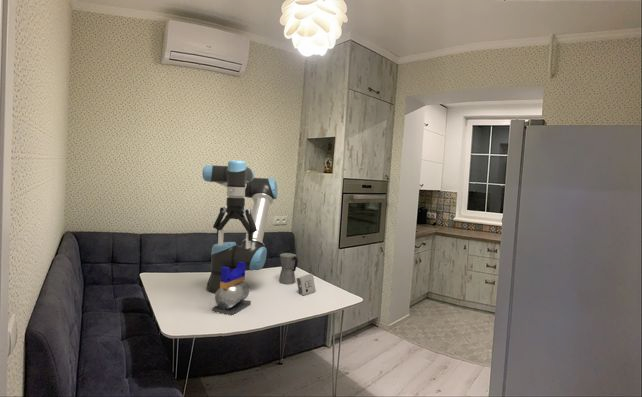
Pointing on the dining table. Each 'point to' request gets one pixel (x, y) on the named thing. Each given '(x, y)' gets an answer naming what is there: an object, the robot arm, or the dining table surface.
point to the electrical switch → (306, 284)
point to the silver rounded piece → (232, 297)
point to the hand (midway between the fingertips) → (234, 246)
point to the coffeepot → (288, 267)
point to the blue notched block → (232, 273)
